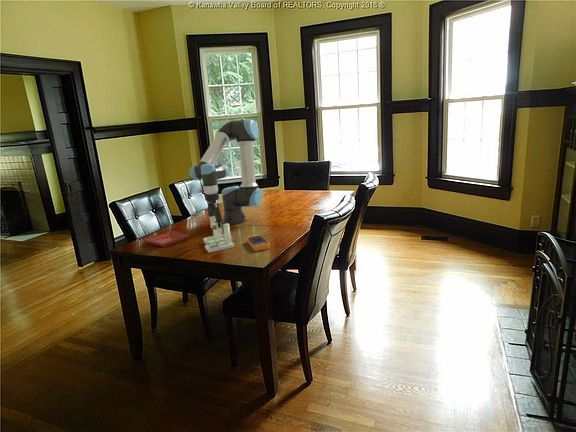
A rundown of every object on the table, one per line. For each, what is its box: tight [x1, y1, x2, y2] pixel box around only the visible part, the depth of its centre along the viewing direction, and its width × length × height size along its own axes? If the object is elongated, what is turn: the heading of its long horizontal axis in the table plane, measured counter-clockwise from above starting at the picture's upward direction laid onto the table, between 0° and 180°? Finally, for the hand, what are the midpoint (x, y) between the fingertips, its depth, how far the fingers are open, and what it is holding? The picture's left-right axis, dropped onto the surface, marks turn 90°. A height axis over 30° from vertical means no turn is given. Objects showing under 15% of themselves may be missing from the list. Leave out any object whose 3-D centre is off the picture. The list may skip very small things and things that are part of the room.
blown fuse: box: [211, 219, 222, 241], centre depth 208 cm, size 4×4×12 cm
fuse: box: [222, 223, 232, 244], centre depth 200 cm, size 3×3×12 cm
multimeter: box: [246, 234, 271, 252], centre depth 198 cm, size 9×18×3 cm, turn 19°
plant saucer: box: [145, 230, 189, 248], centre depth 219 cm, size 18×18×3 cm
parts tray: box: [202, 233, 234, 246], centre depth 209 cm, size 14×10×2 cm
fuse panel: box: [204, 241, 235, 254], centre depth 200 cm, size 14×8×2 cm, turn 116°
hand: (216, 230), depth 208 cm, fingers open, 13 cm apart
